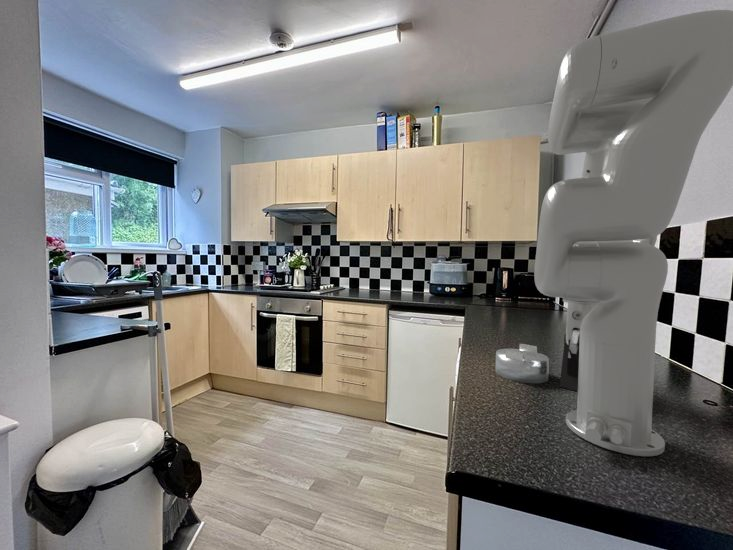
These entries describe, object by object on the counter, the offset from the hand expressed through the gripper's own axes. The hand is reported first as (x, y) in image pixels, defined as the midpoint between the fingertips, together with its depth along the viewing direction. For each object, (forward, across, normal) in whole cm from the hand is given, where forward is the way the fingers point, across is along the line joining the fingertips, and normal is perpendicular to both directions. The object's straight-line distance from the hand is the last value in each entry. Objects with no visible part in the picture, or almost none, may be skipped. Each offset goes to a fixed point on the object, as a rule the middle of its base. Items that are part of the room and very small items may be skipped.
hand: (579, 371), depth 71 cm
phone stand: (+4, 0, 0) cm, 4 cm away
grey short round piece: (+3, -2, +12) cm, 13 cm away
